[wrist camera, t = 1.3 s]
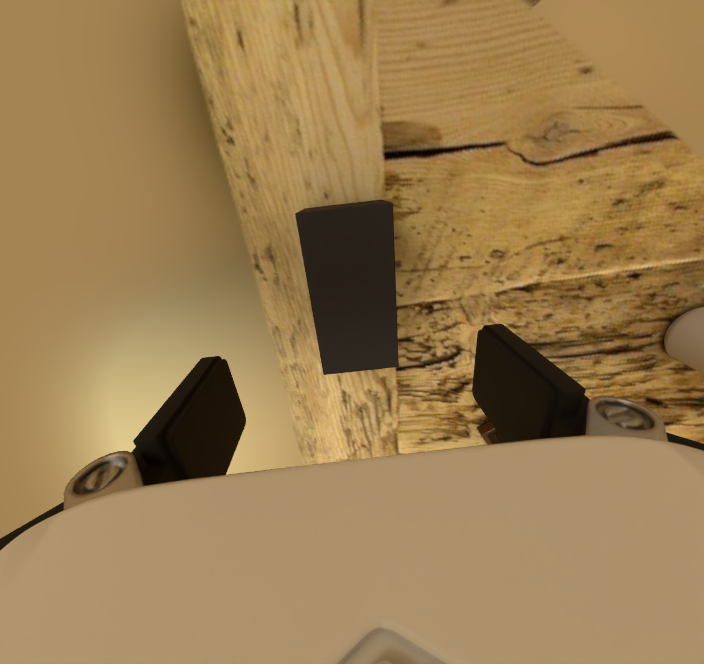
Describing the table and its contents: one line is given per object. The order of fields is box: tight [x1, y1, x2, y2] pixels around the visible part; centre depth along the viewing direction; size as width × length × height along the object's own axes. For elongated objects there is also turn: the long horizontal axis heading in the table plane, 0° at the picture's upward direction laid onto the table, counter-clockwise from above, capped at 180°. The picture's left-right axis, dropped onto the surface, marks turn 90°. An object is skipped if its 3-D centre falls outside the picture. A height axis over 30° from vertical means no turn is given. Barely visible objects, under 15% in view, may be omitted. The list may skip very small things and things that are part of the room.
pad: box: [296, 200, 399, 375], centre depth 19 cm, size 10×5×4 cm, turn 6°
